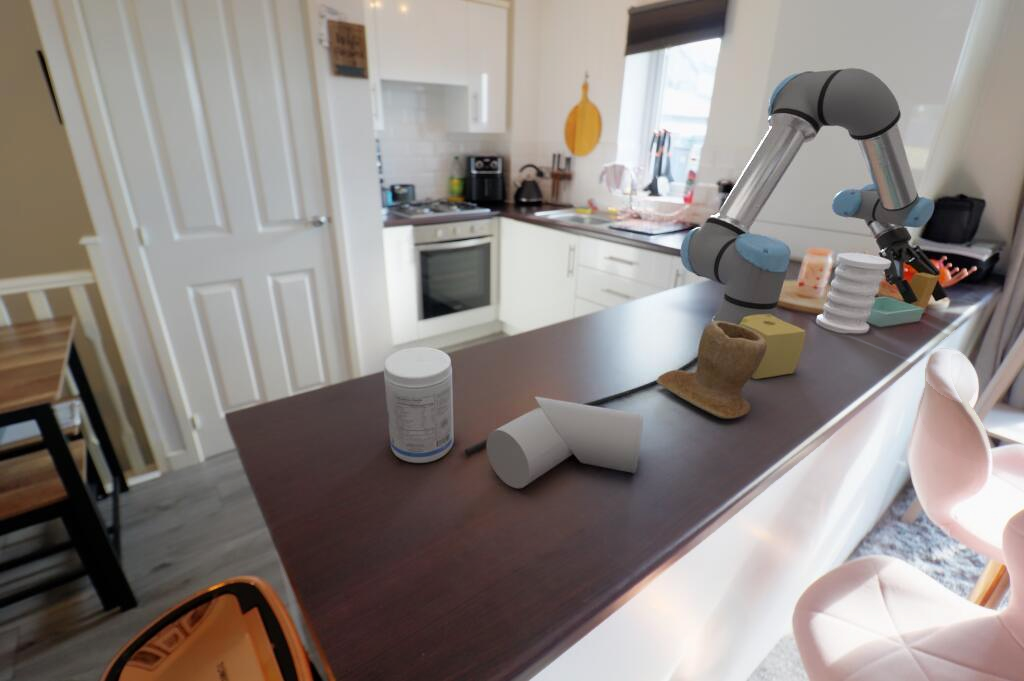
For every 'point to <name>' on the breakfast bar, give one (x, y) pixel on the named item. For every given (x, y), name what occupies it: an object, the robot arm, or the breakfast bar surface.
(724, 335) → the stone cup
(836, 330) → the decorative container
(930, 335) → the breakfast bar surface
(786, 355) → the cheese
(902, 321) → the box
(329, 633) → the breakfast bar surface
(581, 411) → the l-shaped cylinder
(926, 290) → the mustard block
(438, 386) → the supplement tub
